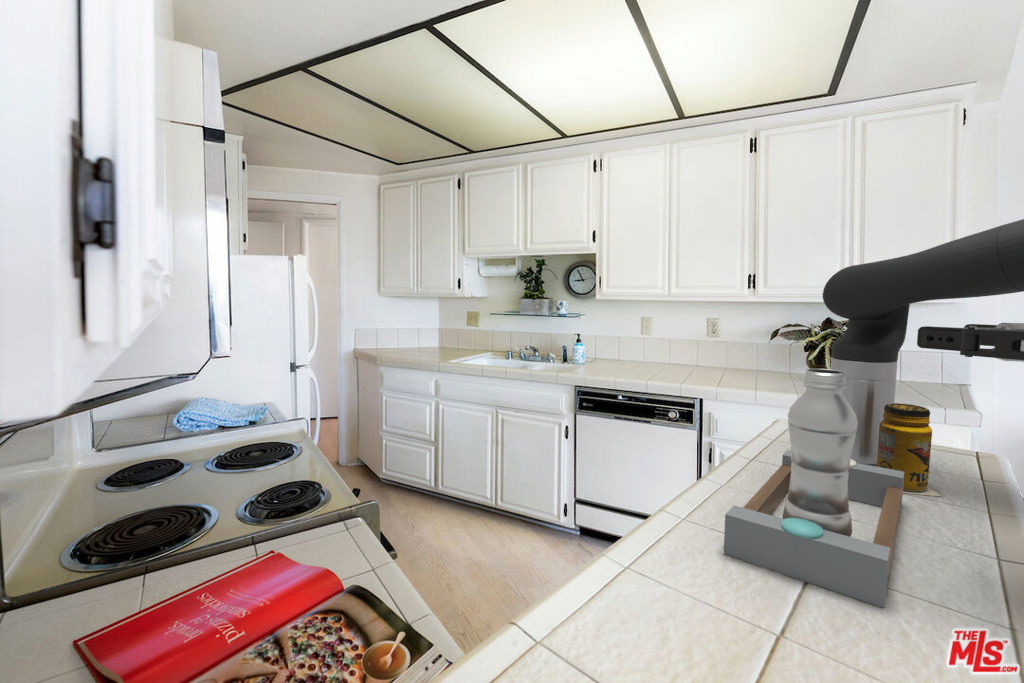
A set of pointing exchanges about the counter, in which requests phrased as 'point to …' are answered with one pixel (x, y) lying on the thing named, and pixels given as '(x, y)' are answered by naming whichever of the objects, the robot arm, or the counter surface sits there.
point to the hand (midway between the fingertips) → (942, 335)
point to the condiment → (906, 445)
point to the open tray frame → (779, 487)
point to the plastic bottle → (821, 452)
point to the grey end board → (809, 553)
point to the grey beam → (866, 481)
